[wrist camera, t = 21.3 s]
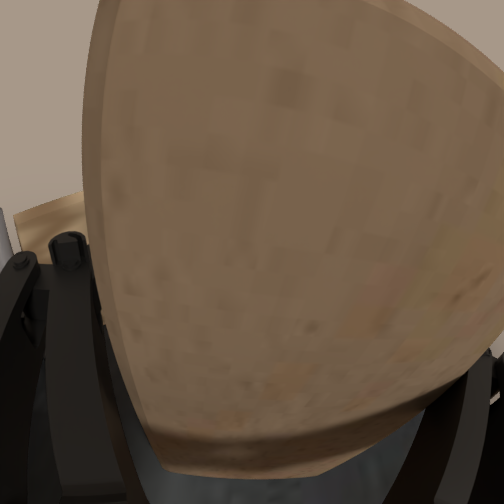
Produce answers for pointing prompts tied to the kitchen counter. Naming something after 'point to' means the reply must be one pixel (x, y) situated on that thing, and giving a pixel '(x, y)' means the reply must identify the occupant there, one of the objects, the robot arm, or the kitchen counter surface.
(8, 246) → the wall stub
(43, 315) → the robot arm
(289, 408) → the wooden block
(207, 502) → the kitchen counter surface
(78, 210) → the gate
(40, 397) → the kitchen counter surface
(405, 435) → the kitchen counter surface
